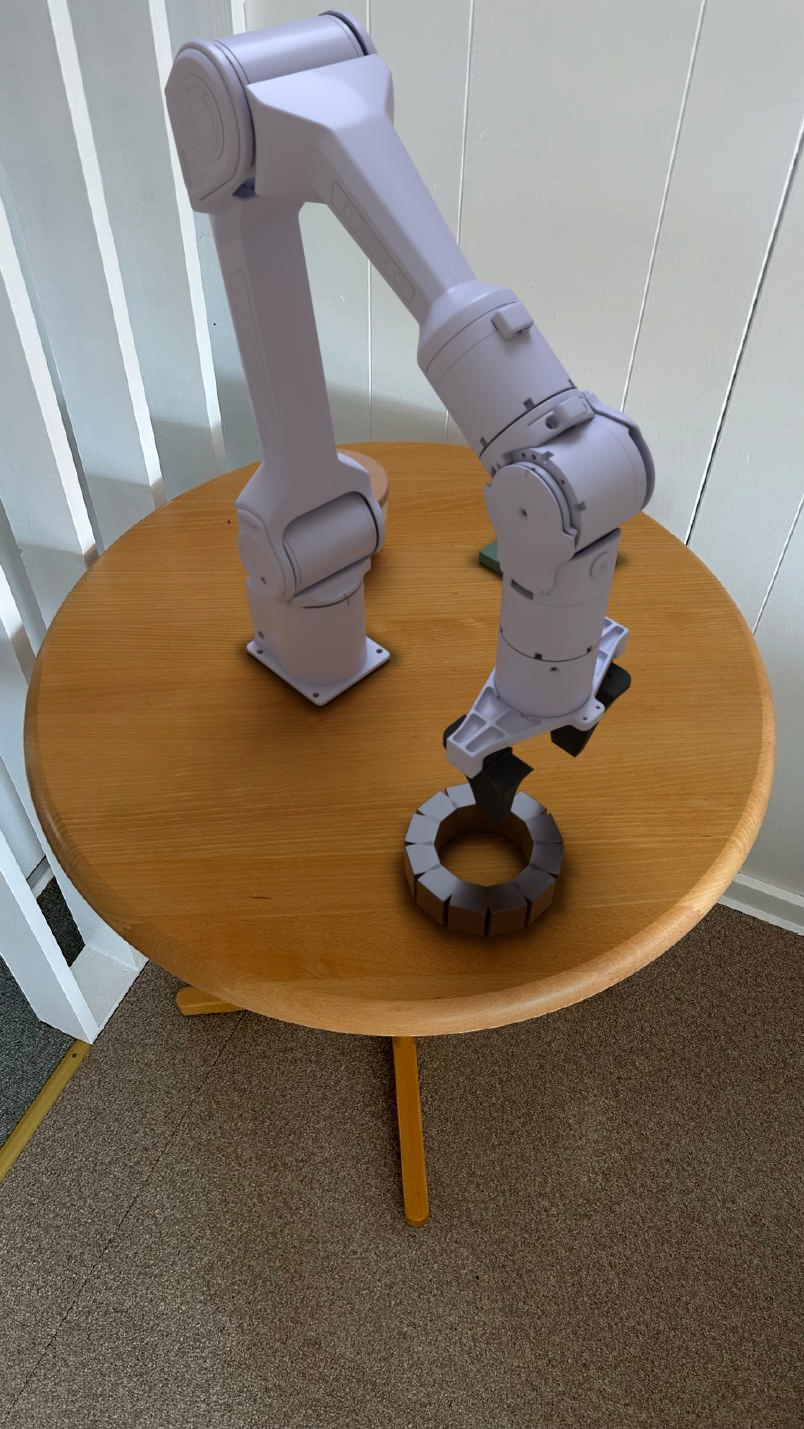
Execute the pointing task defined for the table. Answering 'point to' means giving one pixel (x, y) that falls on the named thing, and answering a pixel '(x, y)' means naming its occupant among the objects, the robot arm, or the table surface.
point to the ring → (472, 902)
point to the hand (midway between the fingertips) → (529, 778)
